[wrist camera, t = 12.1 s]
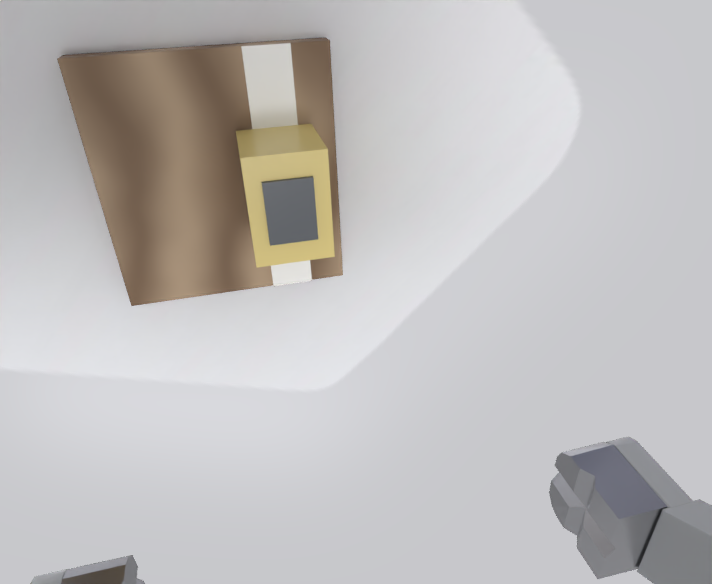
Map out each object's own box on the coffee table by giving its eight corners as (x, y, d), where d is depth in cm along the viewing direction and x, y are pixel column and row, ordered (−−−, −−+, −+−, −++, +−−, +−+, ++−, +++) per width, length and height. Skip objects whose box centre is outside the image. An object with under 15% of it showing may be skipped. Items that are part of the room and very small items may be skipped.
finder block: (250, 228, 39) (256, 269, 34) (235, 130, 35) (240, 159, 30) (318, 220, 40) (335, 258, 35) (311, 123, 36) (328, 150, 31)
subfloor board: (133, 295, 41) (131, 307, 40) (63, 55, 32) (56, 59, 31) (338, 266, 44) (343, 276, 43) (325, 37, 35) (330, 40, 34)
